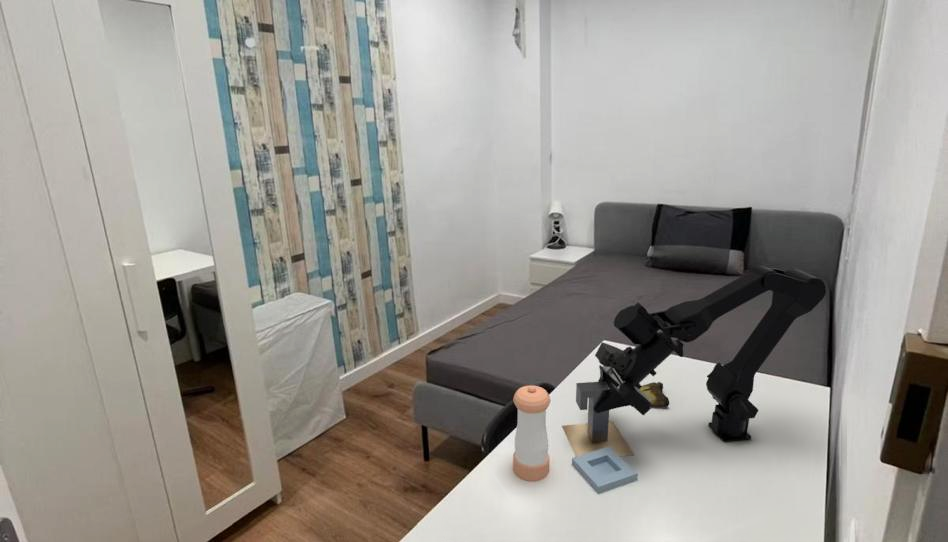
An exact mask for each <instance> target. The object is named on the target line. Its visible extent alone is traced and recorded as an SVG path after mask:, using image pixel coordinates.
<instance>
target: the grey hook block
mask: <svg viewBox="0 0 948 542" xmlns="http://www.w3.org/2000/svg"><path fill="white" fill-rule="evenodd" d="M575 385H576V386H575V387H576V389H575V392H576V393H575V402H576V404H577V406H578V409H579V410H580V411H587V410H588V411H587V423H588V428H587V433H588V436H589V438H590V440H591V442H592V443H593V442H606V441H607V440H608V423H609V421H610V410H608V411H604V412H600V413H596V412H595V411H594V408H595V407H596V406H597V405H598V403H599V402H600V401H601V400H602V399H603V398H604V397H605V396H606V395H607V394H608V393H609V391H610V388H609V386H608V385H607V383H606V382H605V381H600V382H598V381H588V382H576V384H575Z"/></svg>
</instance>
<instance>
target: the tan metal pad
mask: <svg viewBox="0 0 948 542" xmlns="http://www.w3.org/2000/svg"><path fill="white" fill-rule="evenodd" d="M561 427H562V429H563V431H564V434H565V436H566V438H567V440H568V443H569V445H570V446H571V449H572V451H573V453H574V456H575V457H577V456H580V455H583V454H587V453H590V452H593V451H596V450H599V449H602V448H606V447H610V448H611V449H612V450H613V451H614V452H616V453H617V454H618V455H619V456H620V457H621V458H622V457H629V456H631V457H632V456H635V454H634V452H633V450H632V449H631V447H630V446H629V444H628V443H627V440H625V438H624V436H623V435H622V433H621V432H620V430H619V428H618V427H617V426H616V424H615V422H614V420H611V421H610V420H609V423H608V440H607V441H606V442H593V443H592V442H591V440H590V438H589V436H588V433H587V428H588V422H587V423H578V424H577V423H575V424H567V425H561Z"/></svg>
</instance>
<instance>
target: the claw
mask: <svg viewBox="0 0 948 542" xmlns="http://www.w3.org/2000/svg"><path fill="white" fill-rule="evenodd" d="M617 381H618V380H617ZM618 382H619V381H618ZM620 385H621V384H620ZM641 386H642V387H641V388H640V389H639V390H640V391H641V392H642V393H644V394H645V396H646V397H647V398H648V400H649V401H650V402H651V407H652V406H653V407H666V408H667V407H669V405H670V399H669V397H668V396H666V395H665V393H663V390H664V383H663V382H661V381H657V382H654V381H653V382H650V383H647V384H643V385H641Z"/></svg>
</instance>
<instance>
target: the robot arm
mask: <svg viewBox="0 0 948 542" xmlns="http://www.w3.org/2000/svg"><path fill="white" fill-rule="evenodd" d="M768 291H771V292H772V297H771V305H770V307H769V308H768V309H767V311H766V312H765V314H764V316H763V317H762V318H761V319H760V321H759V322H758V323H757V325H756V327H755V328H754V329H753V330H752V332H751V333H750V335H749V336H748V337H747V339H746V340H745V342H744V344H743V345H742V346H741V348H740V349H739V350H738V352H737V353H736V355H735V356H734V358H733V359H732V360H731V361H729V362H727V363H725V364H722V363H720V362H717V363H716V364H715V365H714V367H713V369H712V371H711V372H710V373H709V374H707V375H706V378H708V379H706V383H705V386H706V390H707V391H708V393H709V394H710V395H711V396H712V397H711V398H712V399H713V400H714V401H716V402H717V403H718V404H715V406H714V411H713V412H712V416H711V422H708V424H707V425H708V427H709V428H710V429H711V430H712V431H713V432H714V433H715V434H716V436H718V437H719V439H720V440H721V441H723V442H725V443H729V442H738V441H748V440H751V439H752V435H750V433H748V430H749V422H750V419H755V418H756V416H757V414H758V412H759V409H758V408H757V407H756V406H755V405H754V403H752V402H751V401H750V397H751V396H752V393H753V391H754V382H755V375H756V374H757V372H758V371H759V369H760V368H761V367H762V365H763V364H764V363H765V362H766V360H767V358H768V357H769V355H771V353H772V352H773V350H774V349H775V347H776V346H777V345H778V344H779V342H780V340H782V338H783V337H784V335H785V334H786V332H787V331H788V329H790V327H791V326H792V324H793V323H794V322H795V320H796V319H798V318H799V317H802V316H804V315H806V314H808V313H810V312H812V311H813V310H814V309H815V308H816V307H817V306H818V305H819V304H820V302H821V301H822V300H824V298H825V296H826V295H827V287H826V283H825V281H823V280H822V279H821V278H818V277H816V276H814V275H811V274H810V273H808V272H805V271H803V270H800V269H798V268H793V269H792V268H791V269H789V270H784V269H783V270H782V269H778V268H772V267H766V266H764V265H757V266H754V267H752V268H751V270H750V271H749V272H747V273H745V274H744V275H741V276H740V277H737V279H735V280H732V281H731V282H729V283H727V284H725V285H723V286H722V287H720V288H718V289H717V290H715V291H713V292H711V293H709V294H707V295H705V296H704V297H702V298H700V299H696V300H695V299H694V300H688V301H684V302H680V303H678V304H676V305H673V306H670V307H669V308H668V309H665V310H661V311H660V310H659V311H656V312H650V313H649V312H648V311H647V309H646V308H645V307H644V305H642V303H640V302H637V303H636V304H634V305H631V306H627V307H625V308H624V309H620V311H619V312H618V313H617V314H616V316H615V318H614V320H613V326H614V327H615V328H616V329H617V330H618V331H619V332H620V333H621V334H622V335H623V336H625V338H627V339H628V340H629V341H630V342H631V343H632V344H634V345H636V346H635V347H634V348H633V347H631V346H627V347H626V348H625V349H624V350H623V349H622V348H618V347H616V346H614V345H611V344H609V343H606V342H601V343H600V345H599V347H598V349H597V351H596V353H595V355H594V356H595V358H597V360H598V362H599V363H600V364H599V367H598V369H599V378H598V381H597V382H600V381H605V382H606V383H607V385H608V386H609V388H610V391H609V393H608V394H607V395H606V396H605V397H604V398H603V399H602V400H601V401H600V402H599V403H598V405H597V406H596V407H595V408H594V411H595V412H596V413H600V412H604V411H608V410H609V411H610V410H614V409H619V408H623V407H628V406H630V407H631V408H632V407H633V408H634V409H635V410H636V411H637V412H638V413H640V414H641V415H642V416H645V415H646V414H647V413H648V412H649V411H650V410H651V409H652V406H651V402H650V401H649V400H648V398H647V397H646V396H645V394H644V393H642V392H641V391H640V390H639V389H640V388H641V387H642V386H643V385H641V382H642V381H643V380H645V379H646V378H647V377H648V376H649V375H651V376H652V377H655V376H656V374H657V371H656V370H655V369H656V368H657V367H659V366H660V365H661V364H662V363H663V362H664V361H666V359H667V358H668V357H670V356H671V355H672V354H673V353H676V354H677V356H679V358H684V346H685V345H684V343H691V342H694V341H696V340H697V339H698V338H700V337H701V336H703V335H704V334H705V333H706V332H708V331H709V329H710V328H711V327H712V325H713V324H714V321H717V320H718V319H719V318H721V317H723V316H724V315H726V314H728V313H729V312H731V311H733V310H735V309H737V308H739V307H740V306H742V305H744V304H746V303H748V302H750V301H751V300H753V299H755V298H757V297H758V296H760V295H763V294H764V293H766V292H768ZM659 330H660V332H658V331H659ZM674 338H675V339H674ZM617 380H618V381H619V382H618V381H617ZM620 384H621V385H620Z"/></svg>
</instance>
